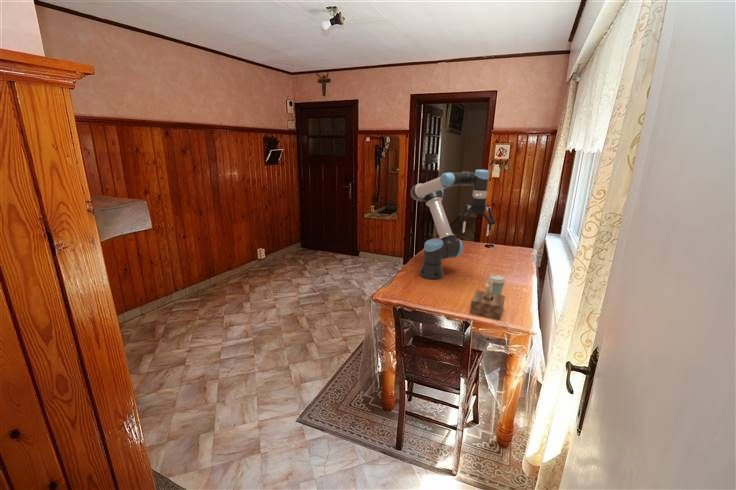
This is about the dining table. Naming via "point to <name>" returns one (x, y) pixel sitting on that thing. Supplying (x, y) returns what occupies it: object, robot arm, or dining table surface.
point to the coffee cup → (497, 283)
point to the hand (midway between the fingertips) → (475, 233)
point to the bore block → (487, 305)
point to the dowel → (488, 289)
